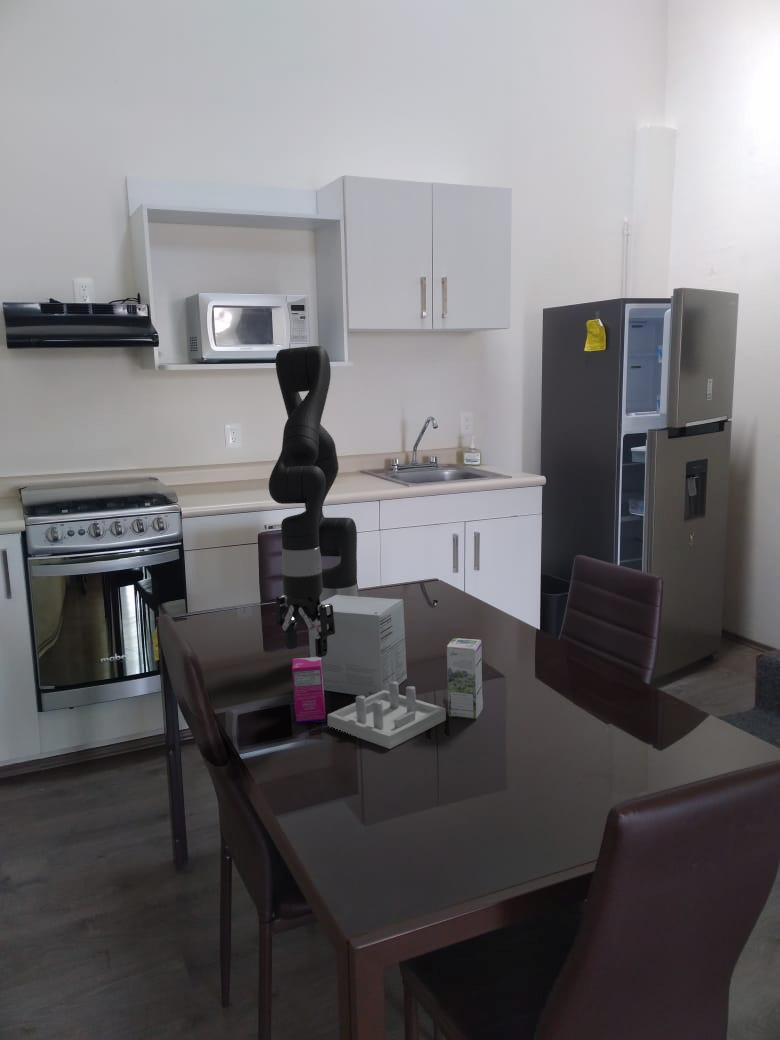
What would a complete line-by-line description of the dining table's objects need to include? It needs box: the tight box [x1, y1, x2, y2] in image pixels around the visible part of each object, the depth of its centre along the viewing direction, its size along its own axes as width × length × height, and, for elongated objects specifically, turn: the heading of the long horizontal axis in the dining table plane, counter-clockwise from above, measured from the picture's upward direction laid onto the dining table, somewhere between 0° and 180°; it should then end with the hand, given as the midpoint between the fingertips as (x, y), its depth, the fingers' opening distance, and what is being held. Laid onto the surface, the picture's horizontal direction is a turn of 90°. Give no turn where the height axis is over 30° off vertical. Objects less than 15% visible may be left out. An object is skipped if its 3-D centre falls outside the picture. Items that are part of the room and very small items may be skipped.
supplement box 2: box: [307, 595, 408, 698], centre depth 180 cm, size 17×13×18 cm
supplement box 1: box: [291, 656, 327, 724], centre depth 163 cm, size 6×6×12 cm
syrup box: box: [446, 637, 484, 720], centre depth 162 cm, size 6×6×14 cm
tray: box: [326, 681, 447, 749], centre depth 159 cm, size 16×16×6 cm
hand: (306, 652), depth 162 cm, fingers open, 8 cm apart
